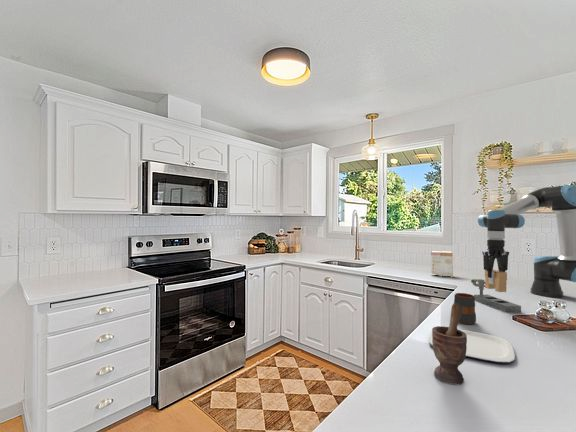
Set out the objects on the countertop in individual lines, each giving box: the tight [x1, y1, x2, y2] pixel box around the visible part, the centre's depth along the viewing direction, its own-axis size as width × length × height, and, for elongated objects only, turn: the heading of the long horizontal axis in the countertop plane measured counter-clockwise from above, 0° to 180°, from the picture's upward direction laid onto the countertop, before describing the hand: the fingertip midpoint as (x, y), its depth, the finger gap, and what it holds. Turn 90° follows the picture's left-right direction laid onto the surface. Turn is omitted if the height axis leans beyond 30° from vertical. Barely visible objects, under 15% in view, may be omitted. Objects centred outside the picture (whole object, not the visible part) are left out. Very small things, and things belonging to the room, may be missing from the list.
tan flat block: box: [484, 268, 508, 293], centre depth 156 cm, size 4×10×10 cm, turn 5°
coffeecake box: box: [430, 250, 454, 276], centre depth 238 cm, size 15×7×20 cm, turn 58°
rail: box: [473, 294, 522, 313], centre depth 156 cm, size 8×22×3 cm, turn 5°
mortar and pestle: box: [431, 302, 467, 385], centre depth 86 cm, size 12×9×20 cm
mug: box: [453, 292, 477, 326], centre depth 132 cm, size 9×12×12 cm
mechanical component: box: [470, 278, 485, 295], centre depth 173 cm, size 3×10×10 cm, turn 79°
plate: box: [428, 328, 516, 364], centre depth 106 cm, size 25×25×2 cm
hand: (495, 283), depth 156 cm, fingers closed on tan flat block, 4 cm apart
